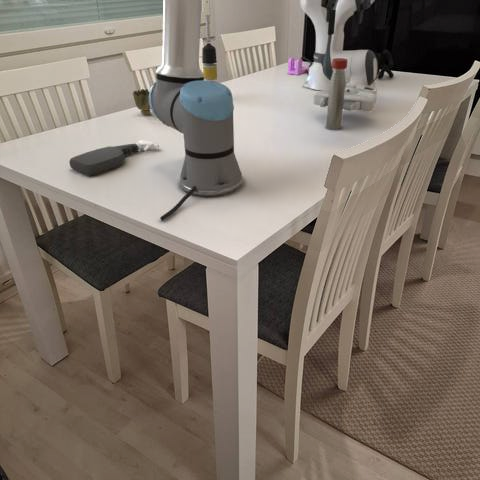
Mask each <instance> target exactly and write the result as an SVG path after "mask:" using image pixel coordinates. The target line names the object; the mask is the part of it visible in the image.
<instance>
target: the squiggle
mask: <svg viewBox="0 0 480 480" xmlns="http://www.w3.org/2000/svg"><path fill="white" fill-rule="evenodd" d="M371 51H372V52H373V53H374V54H375V56H376V58H377V60H378V74H377V78H378V79H379V80H382V79H383V78H384V75H385V73H386V74H387V75H388V77H389V78H394V72H393V71H392V69H390V68H392V67H393V66H394V60H393V57H392V54H391V51H389V50H388V49H384V51H383V52H382V54H381V53H377V52H376V51H373V50H371ZM382 55H383V56H382ZM386 61H388V64H386Z"/></svg>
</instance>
